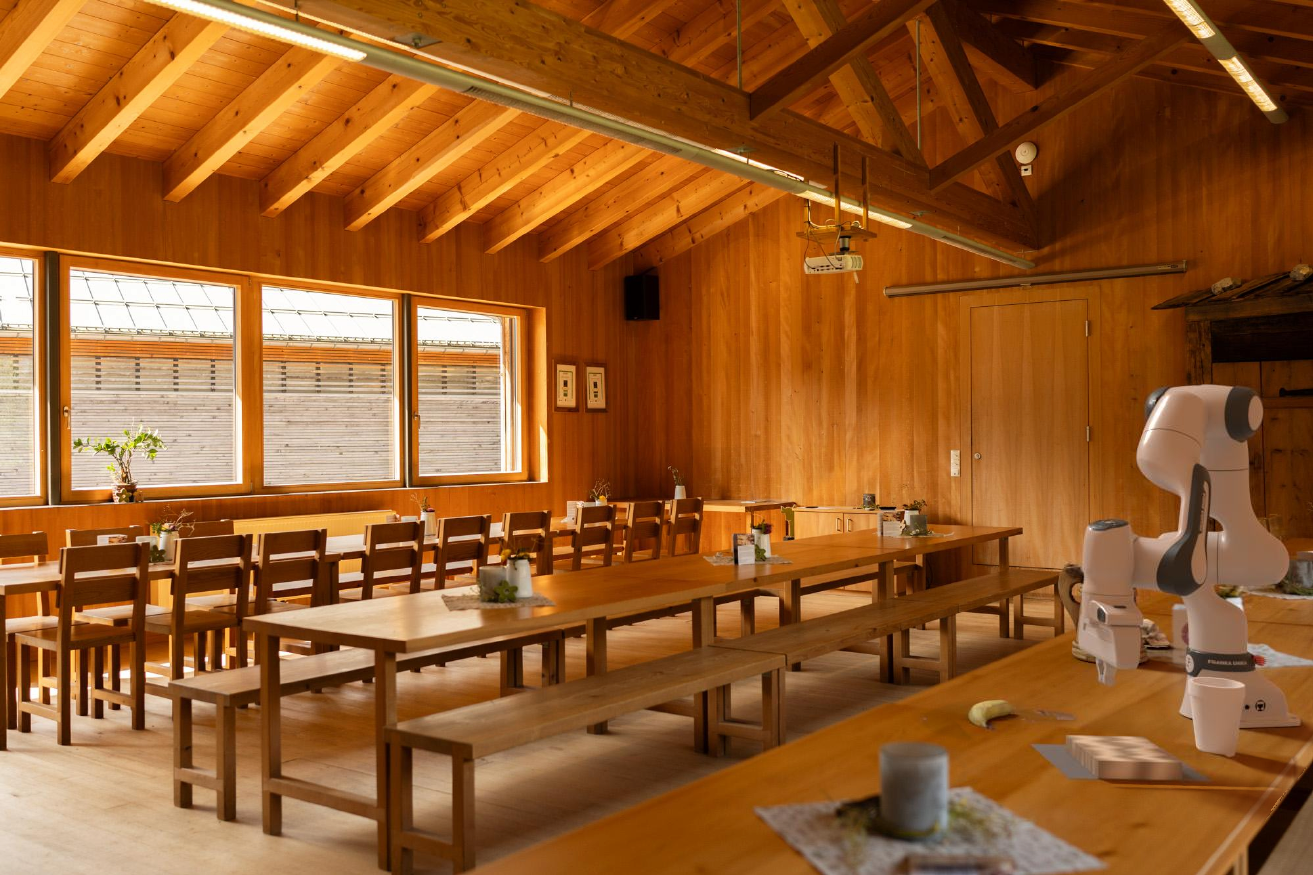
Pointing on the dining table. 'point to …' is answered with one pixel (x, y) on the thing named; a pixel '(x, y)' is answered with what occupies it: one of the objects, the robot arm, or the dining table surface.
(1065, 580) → the tankard
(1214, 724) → the foam cup
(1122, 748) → the table sign
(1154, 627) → the skull
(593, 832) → the dining table surface
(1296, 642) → the dining table surface
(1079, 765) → the mat
